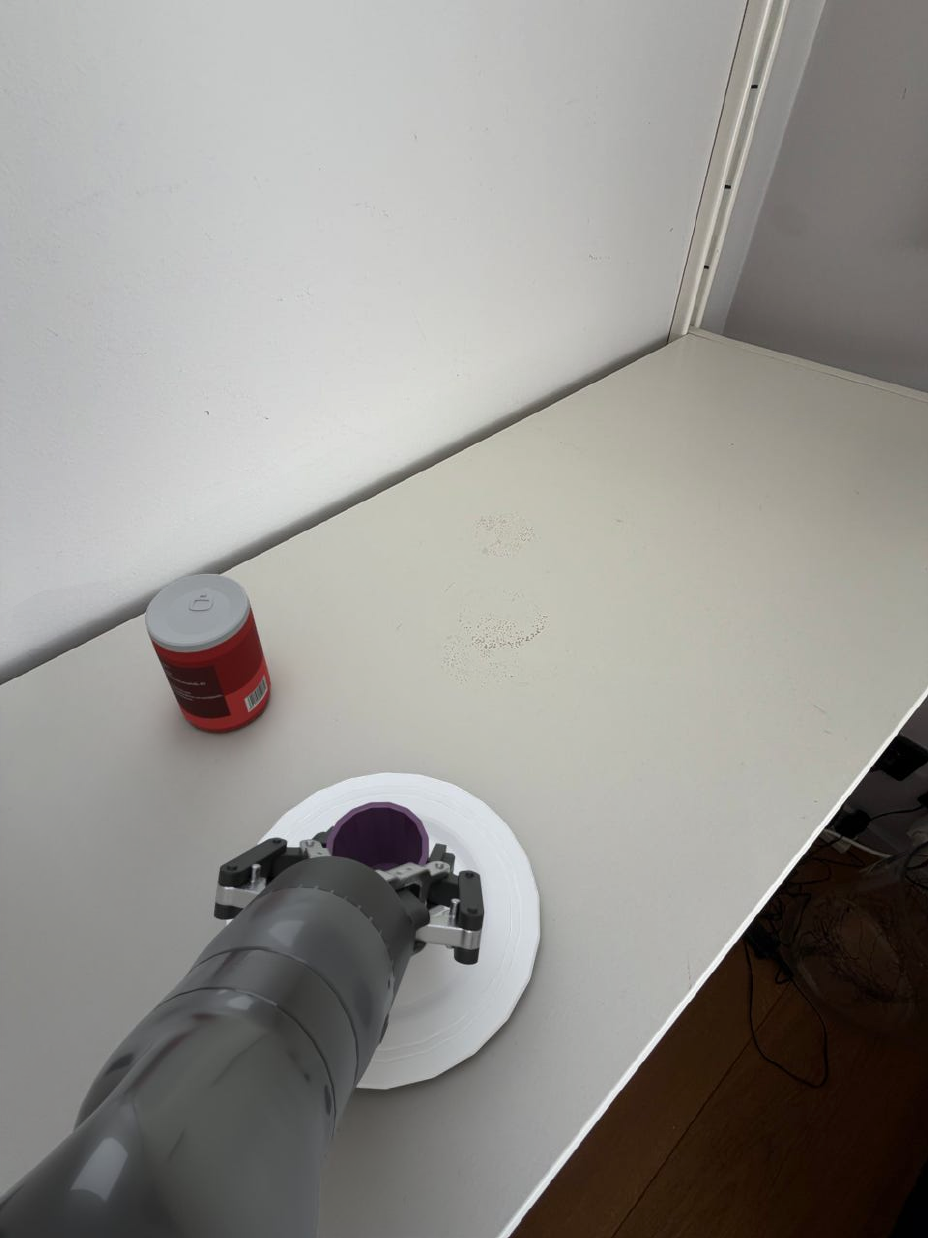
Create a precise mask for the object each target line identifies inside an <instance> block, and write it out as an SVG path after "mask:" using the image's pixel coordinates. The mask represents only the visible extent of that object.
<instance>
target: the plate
mask: <svg viewBox="0 0 928 1238" xmlns="http://www.w3.org/2000/svg"><path fill="white" fill-rule="evenodd" d="M369 802H370V803H371V802H392V803H395V804H397V805H400V806H403V807H406V808H408V809H409V810H410V811H411V812H413V813H414V814H415V815H416V816H417V817H418V818H419V819H420V820H421V821H422V823H423V825H424V827H425V830H426V832H427V834H428V836H429V857H430V855H431V853H432V851H433V848H434V846H435V844H436V843H438V844H444V845H447V849H446V852H447V853H453V854H454V855H455V864H454V871H453V874H455V875H457V876H459V872H460V871H465V870H471V871H473V872H476V873H478V874H479V875H480V879H481V887H482V896H483V904H484V920H483V927H482V935H481V942H480V950H479V957H478V962H477V963H476V964H473V965H465V964H461V963H459V962H457V961H456V960H455V959H454V948H453V949H448V948H446V947H445V945H439V944H431V943H427V944H426V946H425V947H424V949H423V950H422V951H420V952H419V953H417V954H415V955H413V956H412V957H410V960H409V962H408V965H407V968H406V970H405V973H404V976H403V978H402V981H401V984H400V986H399V989H398V992H397V994H396V997H395V1000H394V1002H393V1005H392V1008H391V1010H390V1013H389V1020H388V1022H389V1023H388V1026H387V1029H386V1032H385V1034H384V1037H383V1039H382V1042H381V1044H379V1045H378V1047H377V1048H376V1050H375V1053H374V1055H373V1057H372V1059H371V1062H370V1064H369V1066H368V1067H367V1069H366V1071H365V1073H364V1075H363V1077H362V1078H361V1080H360V1082H359V1083H358V1085H357V1086H356V1088H355V1089H364V1090H365V1089H366V1090H367V1089H368V1090H380V1091H382V1090H384V1091H387V1090H391V1089H396V1088H399V1087H404V1086H408V1085H412V1084H416V1083H420V1082H424V1081H428V1080H433V1079H435V1078H437V1077H438V1076H440V1075H441V1074H443V1073H445V1072H447V1071H448V1070H450V1069H452V1068H453V1067H455V1066H457V1065H459V1064H461V1063H462V1062H464V1061H465V1060H467V1059H469V1058H471V1057H472V1056H474V1055H476V1054H477V1052H479V1051H480V1049H482V1047H483V1046H485V1044H486V1043H487V1042H488V1041H489V1040H490V1039H491V1038H492V1037H493V1036H495V1034H496V1033H497V1032H498V1031H499V1030H500V1029H501V1028H502V1027H503V1026H504V1025H505V1024H506V1022H507V1021H508V1020H509V1019H510V1017H511V1015H512V1013H513V1012H514V1009H515V1008H516V1006H517V1004H518V1002H519V1000H520V998H521V996H522V995H523V993H524V991H525V989H526V988H527V986H528V984H529V982H530V980H531V977H532V973H533V969H534V964H535V960H536V957H537V952H538V949H539V944H540V939H541V911H540V910H541V908H540V906H541V905H540V894H539V891H538V887H537V883H536V879H535V876H534V873H533V869H532V866H531V862H530V859H529V857H528V855H527V854H526V852H525V850H524V849H523V847H522V845H521V844H520V842H519V840H518V839H517V837H516V836H515V834H514V832H513V830H512V828H511V827H510V826H509V825H508V824H507V823H506V822H505V821H504V819H502V818H501V817H500V816H499V815H498V814H497V812H495V811H494V810H493V809H492V808H491V807H490V806H489V805H488V804H487V803H485V802H484V801H483V800H481V799H480V798H478V797H476V796H475V795H473V794H471V793H469V792H467V791H466V790H465V789H463V788H461V787H459V786H457V785H456V784H454V783H450V782H447V781H444V780H440V779H437V778H434V777H431V776H427V775H425V774H419V773H403V772H386V771H385V772H380V773H373V774H368V775H361V776H357V777H350V778H347V779H344V780H343V781H339V782H337V783H335V784H333V785H330V786H328V787H325V788H323V789H320V790H317V791H315V792H314V793H312V794H311V795H309V796H308V797H307V798H305V799H304V800H302V801H301V802H300V803H298V804H296V805H295V806H294V807H292V808H290V809H289V810H288V811H286V812H285V813H284V814H283V815H282V816H281V817H280V818H279V819H278V820H277V821H276V822H275V823H274V824H273V826H272V827H271V828H270V829H269V830H268V831H267V832H266V833H265V834H264V835H263V836H262V837H261V839H259V841H258V842H257V843H256V845H255V846H257V845H259V844H260V843H262V842H264V841H266V840H267V839H270V838H276V837H278V838H281V839H285V840H287V847H299V844H300V841H302V840H307V839H312V838H313V837H314V836H315V835H316V834H317V833H320V832H326V831H327V830H328V829H329V828H330V827H331V826H335V824H336V822H337V821H338V820H339V819H341V818H342V817H343V816H344V815H345V814H347V813H348V812H349V811H350V810H351V809H353V808H356V807H359V806H361V805H364V804H367V803H369ZM445 910H450V908H448V907H445V909H444V910H443V911H445ZM443 911H441V912H439V913H437V914H435V915H433V916H431V917H437V916H440V915H442V913H443ZM232 920H233V919H230V920H225V924H226V925H225V927H226V926H227V925H228V924H229V923H230V922H231V921H232Z"/></svg>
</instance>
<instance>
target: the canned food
mask: <svg viewBox="0 0 928 1238" xmlns="http://www.w3.org/2000/svg"><path fill="white" fill-rule="evenodd" d="M146 607H147V608H146V611H145V614H144V624H145V628H146V632H147V634H148V637H149V639H150V641H151V644H152V647H153V650H154V651H155V654H156V656H157V659H158V661H159V663H160V665H161V667H162V670H163V672H164V675H165V677H166V679H167V681H168V683H169V686H170V688H171V690H172V693H173V695H174V697H175V700H176V702H177V704H178V707H179V709H180V711H181V713H182V715H183V716H184V718H185V719H186V720H187V721H189V722H190V723H191V724H192V725H193V726H194V727H196V728H198V729H200V730H202V731H206V732H209V733H227V732H231V731H234V730H235V731H236V730H238V729H240V728H242V727H245V726H246V725H248V724H250V723H251V722H253V721H254V720H255V719H257V717H259V715H260V714H262V712H263V711H264V709H265V707H266V706H267V704H268V701H269V697H270V695H271V694H270V693H271V685H272V684H271V677H270V674H269V673H270V672H269V671H268V670H269V669H268V666H267V662H266V659H265V653H264V651H263V646H262V642H261V639H260V635H259V632H258V626H257V624H256V623H257V622H256V620H255V616H254V612H253V608H252V605H251V601H250V599H249V597H248V594H247V592H246V589H245V587H243V586H242V584H241V583H240V582H238V581H237V580H235V579H234V578H231V577H229V576H228V575H227V576H226V575H223V574H218V573H198V574H194V575H189V576H186V577H183V578H180V579H177V580H176V581H173V582H172V583H170V584H168V585H167V586H165V587H163V588H162V589H161V590H159V592H158V593H157V594H155V595H154V597H153V598H152V599H151V601H150V602H149V603H148V605H147V606H146Z"/></svg>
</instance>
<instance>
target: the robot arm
mask: <svg viewBox="0 0 928 1238" xmlns="http://www.w3.org/2000/svg"><path fill="white" fill-rule="evenodd" d="M333 827H334V826H331V827H330V828H329V829H328V830H327V831H326V832H320V833H317V834H316V835H315V836H314V837H313V838H312V839H307V840H302V841H300V844H299V847H287V840H285V839H281V838H278V837H276V838H270V839H267V840H266V841H264V842H262V843H260V844H259V845H257V844H256V845H257V846H256V845H255V846H253V847H252V848H249V849H248V850H246V851H245V852H243V853H241V854H239V855H238V856H236V857H234V858H233V859H230V860H229V861H227V862H225V863H224V864H222V865H220V867H219V872H218V879H217V884H216V892H215V900H214V902H215V903H214V909H213V910H214V911H213V917H214V918H215V919H218V920H224V921H226V920H230V919H233V920H232V921H231V922H230V923H229V924H228V925H227V926H226V925H225V926H224V927H223V929H222V930H220V931H219V932H218V933H217V934H216V935H215V937H214V938H213V939H211V941H210V942H209V943H208V944H207V945H206V946H205V948H204V949H203V950H202V952H201V953H200V954H199V955H198V957H197V959H195V961H194V963H193V964H192V966H191V968H190V969H189V971H188V972H187V973H186V975H185V976H184V977H183V978H182V979H181V980H180V981H179V982H178V983H177V984H176V985H175V987H173V988H172V989H171V990H170V991H169V992H168V994H166V995H165V997H164V998H162V999H161V1000H160V1001H159V1002H158V1003H157V1004H156V1005H155V1007H153V1008H152V1009H151V1010H150V1011H149V1012H148V1014H147V1015H145V1016H144V1017H143V1018H142V1020H141V1021H139V1023H138V1024H136V1026H135V1027H134V1028H133V1029H132V1031H131V1032H129V1033H128V1035H127V1036H125V1038H123V1040H122V1041H121V1043H120V1044H119V1045H118V1046H117V1047H116V1049H115V1050H114V1051H113V1052H112V1054H111V1055H110V1056H109V1058H108V1059H107V1060H106V1061H105V1063H104V1065H103V1066H102V1068H100V1070H99V1071H98V1073H97V1075H96V1076H95V1078H94V1079H93V1081H92V1083H91V1085H90V1086H89V1089H88V1090H87V1093H86V1094H85V1097H84V1098H83V1100H82V1102H81V1104H80V1106H79V1109H78V1113H77V1117H76V1120H75V1121H74V1126H73V1129H72V1132H71V1133H70V1134H69V1135H68V1136H67V1137H66V1138H65V1139H64V1140H63V1141H61V1142H60V1144H58V1145H57V1146H56V1147H55V1148H54V1149H53V1150H51V1152H49V1154H47V1155H46V1156H45V1157H44V1158H42V1160H41V1161H40V1162H39V1163H38V1164H36V1165H35V1166H34V1167H33V1168H32V1169H31V1170H29V1172H27V1173H26V1174H25V1175H24V1176H23V1177H22V1178H20V1179H19V1180H18V1181H17V1182H16V1183H15V1184H13V1185H12V1186H10V1188H9V1189H8V1190H6V1191H5V1192H4V1193H3V1194H1V1195H0V1238H317V1237H318V1224H319V1205H320V1204H319V1203H320V1202H319V1200H320V1174H321V1170H322V1168H323V1166H324V1163H325V1160H326V1158H327V1155H328V1154H329V1150H330V1148H331V1144H332V1142H333V1139H334V1137H335V1134H336V1132H337V1130H338V1127H339V1124H340V1122H341V1119H342V1117H343V1114H344V1113H345V1112H344V1111H345V1109H346V1107H347V1104H348V1101H349V1100H350V1098H351V1096H352V1094H353V1092H354V1091H355V1089H357V1088H356V1086H357V1085H358V1083H359V1082H360V1080H361V1078H362V1077H363V1075H364V1073H365V1071H366V1069H367V1067H368V1066H369V1064H370V1062H371V1059H372V1057H373V1055H374V1053H375V1050H376V1048H377V1047H378V1045H379V1044H381V1042H382V1039H383V1037H384V1034H385V1032H386V1029H387V1026H388V1023H389V1022H388V1020H389V1013H390V1010H391V1008H392V1005H393V1002H394V1000H395V997H396V994H397V992H398V989H399V986H400V984H401V981H402V978H403V976H404V973H405V970H406V968H407V965H408V962H409V960H410V957H412V956H413V955H415V954H417V953H419V952H420V951H422V950H423V949H424V947H425V946H426V944H427V943H431V944H439V945H445V947H446V948H448V949H453V948H454V959H455V960H456V961H457V962H459V963H461V964H465V965H473V964H476V963H477V962H478V957H479V950H480V942H481V935H482V927H483V920H484V904H483V896H482V887H481V879H480V875H479V874H478V873H476V872H473V871H471V870H465V871H460V872H459V876H457V875H455V874H453V871H454V864H455V855H454V854H453V853H447V852H446V849H447V845H444V844H438V843H436V844H435V846H434V848H433V851H432V853H431V855H430V857H429V860H428V864H425V865H423V866H420V865H417V864H414V863H412V862H409V863H406V864H403V865H401V866H398V867H395V868H393V869H390V870H388V871H382V870H380V869H378V870H375V871H374V870H373V869H371V868H370V867H368V866H366V865H364V864H362V863H360V862H358V861H355V860H352V859H349V858H344V857H337V856H332V855H331V853H330V851H329V849H328V848H326V843H327V838H328V837H329V835H330V833H331V831H332V829H333ZM445 907H448V908H450V910H445V911H443V910H444V909H445ZM441 911H443V913H442V915H440V916H437V917H431V916H433V915H435V914H437V913H439V912H441Z"/></svg>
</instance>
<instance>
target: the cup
mask: <svg viewBox="0 0 928 1238" xmlns="http://www.w3.org/2000/svg"><path fill="white" fill-rule="evenodd" d="M326 848H328V849H329V851H330V853H331V855H332V856H337V857H344V858H349V859H352V860H355V861H358V862H360V863H362V864H364V865H366V866H368V867H370V868H371V869H373V870H374V871H375V870H378V869H380V870H382V871H388V870H390V869H393V868H395V867H398V866H401V865H403V864H406V863H409V862H412V863H414V864H417V865H420V866H423V865H425V864H428V860H429V836H428V834H427V832H426V830H425V827H424V825H423V823H422V821H421V820H420V819H419V818H418V817H417V816H416V815H415V814H414V813H413V812H411V811H410V810H409V809H408V808H406V807H403V806H400V805H397V804H395V803H392V802H371V803H370V802H369V803H367V804H364V805H361V806H359V807H356V808H353V809H351V810H350V811H349V812H348V813H347V814H345V815H344V816H343V817H342V818H341V819H339V820H338V821H337V822H336V824H335V826H334V827H333V829H332V831H331V833H330V835H329V837H328V838H327V843H326Z"/></svg>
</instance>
